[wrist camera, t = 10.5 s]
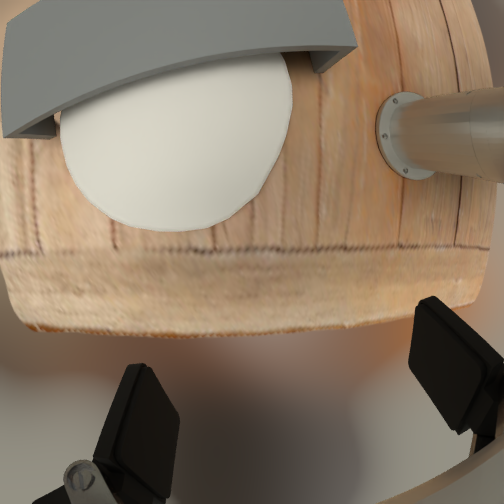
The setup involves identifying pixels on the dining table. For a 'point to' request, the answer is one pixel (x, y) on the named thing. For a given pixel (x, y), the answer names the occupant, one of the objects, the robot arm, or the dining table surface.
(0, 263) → the dining table surface
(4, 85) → the shelf
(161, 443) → the robot arm
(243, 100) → the plate
